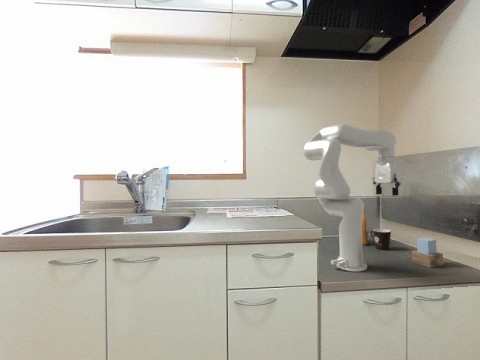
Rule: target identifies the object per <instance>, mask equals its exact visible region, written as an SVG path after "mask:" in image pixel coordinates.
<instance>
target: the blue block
mask: <svg viewBox="0 0 480 360" xmlns="http://www.w3.org/2000/svg"><path fill="white" fill-rule="evenodd" d="M416 244H417V245H416V246H417V247H416V249H417V250H416V251H417V252H420V253H424V254H428V255H430V254H435V253H437V252H438V251H437V239H434V238H430V237H418V238H416Z"/></svg>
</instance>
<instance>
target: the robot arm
mask: <svg viewBox="0 0 480 360" xmlns="http://www.w3.org/2000/svg"><path fill="white" fill-rule="evenodd" d="M396 144H397V138H396V135H395V134H394V133H392V132H390V131H387V130H384V129H371V128H360V127H359V128H358V127H355V126H352V125H349V124H348V125H347V124H343V123H338V124H334V125H330V126H325V127H323V128H321V129H320V130H319V131H318V132H316V133H315V135H313V136H312V137H311V138H310V139H309V140H308V141H307V142H306V143H305V145H304V147H303V156H304V157H305V158H306V160H308V161H320V164H319V167H318V176H319V179H318V180H316V181H315V183H314V185H313V191H314V192H313V193H314V195H315V197H316V199H317V200H318V201H319V204H320V205H321V206H322V208H323V210H324V211H325V212H326V213H327V214H329V215H330V216H335V217H342V219H341V220H340V223H339V226H338V233H339V234H338V235H339V237H338V240H339V241H338V242H339V244H338V245H339V255H338V256H337V258H336V259H331V260H330V264H331V265H336V267H337V268H338V269H340V270H344V271H348V272H364V271H366V270H367V269H368V265H367V263H365V262H364V254H363V251H364V249H363V247H364V245H363V244H362V218H363V212H364V210H365V203H364V201H363V200H362V199H361V198H359V197H357V196H354V195H351V188H350V185H349V183H348V182H347V180H346V178H345V177H344V175H343V173H342V172H341V169H340V167H339V163H340V162H339V161H340V156H341V152H342V145H343V146H349V147H352V148H363V149H364V150H366V151H369V152H373V151H376V153H377V154H376V155H377V156H376V157H377V158H376V162H377V163H376V164H375V168H374V176H373V177H372V178H371V181H372V184H373V185H374V187H375V194H376V195H382V194H383V193H382V192H383V189H382V187H383V186H382V184H391V186H392V187H391V191H392V192H391V196H393V197H394V196H395V197H396V196H399V188H400V185H402V183H403V180H404V178H403V177H402V176H400V175H398V167H397V164H396V162H395V161H396V160H395V145H396Z"/></svg>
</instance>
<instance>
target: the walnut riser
mask: <svg viewBox="0 0 480 360" xmlns="http://www.w3.org/2000/svg"><path fill="white" fill-rule="evenodd" d="M436 252H437V253H435V254H430V255H428V254H424V253H420V252H417V250H412V251H411V253H412V255H411V258H412V259H411V260H412V263H414V264H417V265H421V266H423V267H426V268H435V267H439V266H441V267H442V266H443V265H444V255H443V253H441V252H438V251H436Z"/></svg>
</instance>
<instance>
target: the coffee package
mask: <svg viewBox="0 0 480 360" xmlns="http://www.w3.org/2000/svg"><path fill="white" fill-rule="evenodd" d="M368 235H369V233H368V231H367V220H366V210H365V209H364V212H363V218H362V244H363V246H366V245H367V244H369V242H368V241H369V240H368V238H369V237H368Z"/></svg>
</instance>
